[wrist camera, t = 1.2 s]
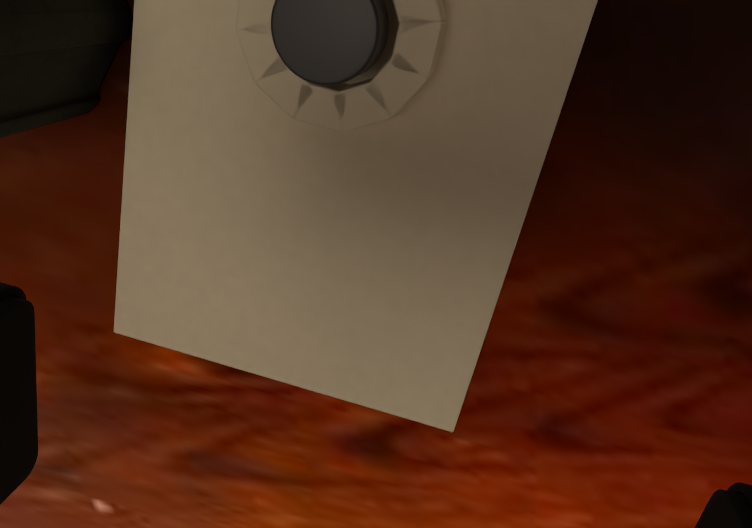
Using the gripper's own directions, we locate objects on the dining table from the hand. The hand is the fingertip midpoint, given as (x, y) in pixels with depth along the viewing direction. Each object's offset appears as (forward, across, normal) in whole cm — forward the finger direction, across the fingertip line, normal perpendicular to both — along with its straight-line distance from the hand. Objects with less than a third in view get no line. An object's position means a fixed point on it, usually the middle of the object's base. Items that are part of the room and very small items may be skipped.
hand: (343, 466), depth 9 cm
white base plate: (+15, +4, +1) cm, 16 cm away
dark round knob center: (+13, +4, -4) cm, 14 cm away
